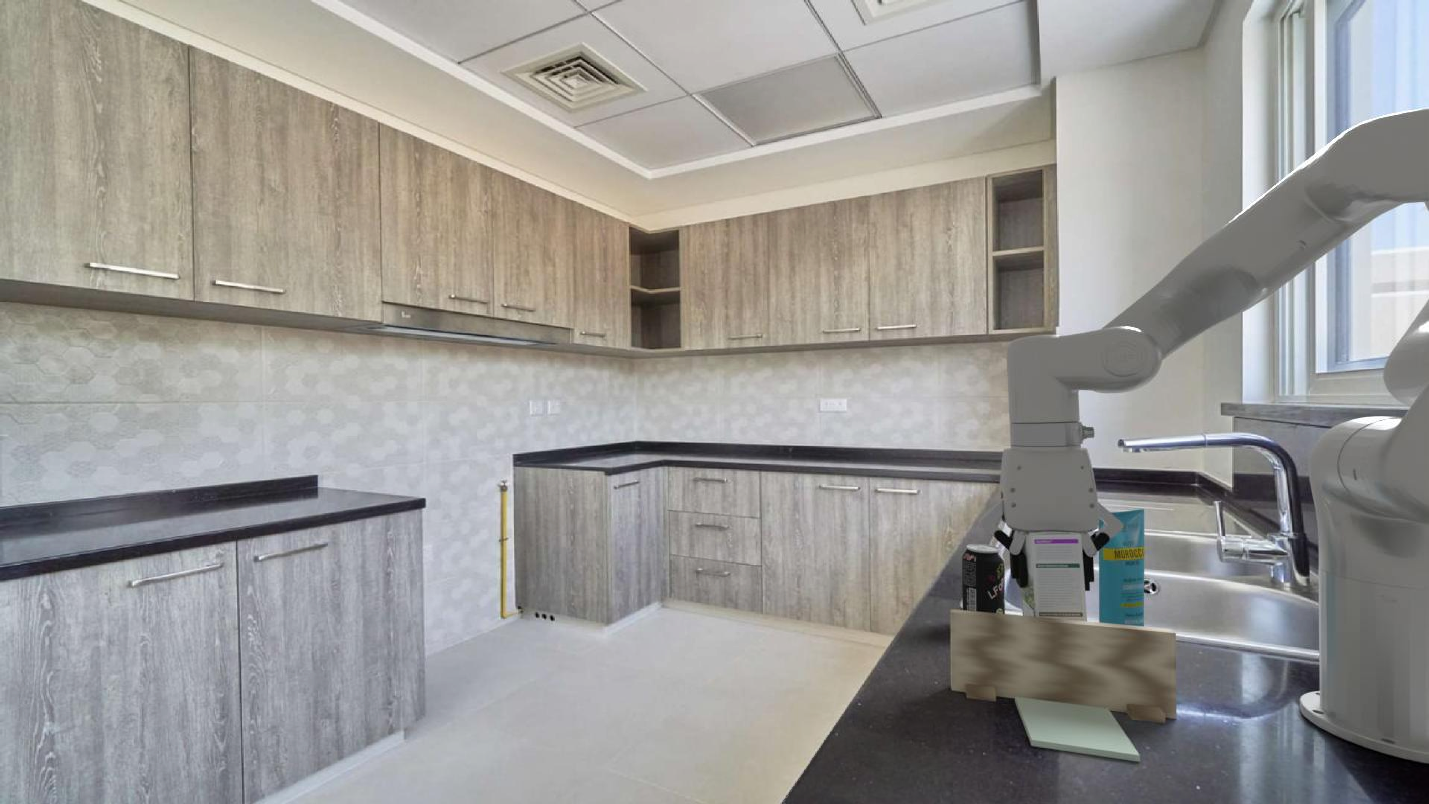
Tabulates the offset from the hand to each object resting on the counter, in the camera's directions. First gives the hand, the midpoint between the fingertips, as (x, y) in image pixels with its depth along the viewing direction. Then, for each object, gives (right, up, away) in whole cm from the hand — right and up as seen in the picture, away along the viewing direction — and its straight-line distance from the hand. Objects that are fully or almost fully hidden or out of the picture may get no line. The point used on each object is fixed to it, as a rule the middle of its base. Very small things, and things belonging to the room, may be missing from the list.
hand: (1051, 584), depth 73 cm
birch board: (-3, -11, -6) cm, 13 cm away
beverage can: (-1, -11, +16) cm, 20 cm away
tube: (+12, -11, +6) cm, 18 cm away
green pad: (-4, -11, -12) cm, 17 cm away
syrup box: (0, -8, 0) cm, 8 cm away
